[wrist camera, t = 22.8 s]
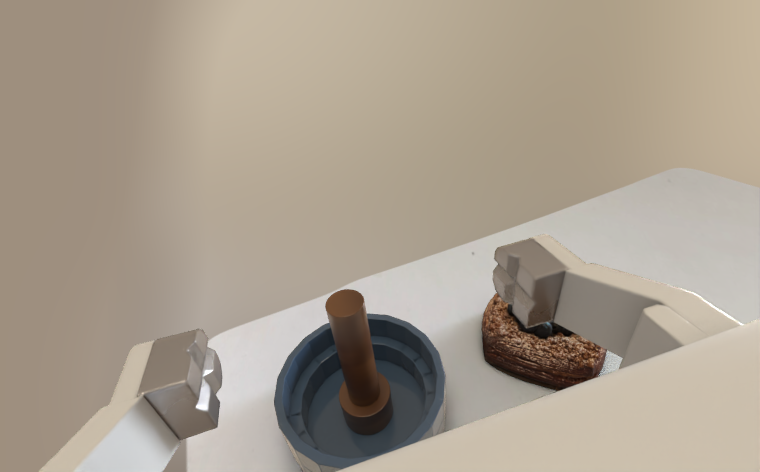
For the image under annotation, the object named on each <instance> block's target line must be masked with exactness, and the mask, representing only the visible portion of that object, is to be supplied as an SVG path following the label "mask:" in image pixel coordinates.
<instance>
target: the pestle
mask: <svg viewBox="0 0 760 472" xmlns="http://www.w3.org/2000/svg"><path fill="white" fill-rule="evenodd" d="M325 307H326V311H327V315H328V319H329V323H330V326H331V330H332V334H333V338H334V341H335V345H336V349H337V353H338V357H339V360H340V364H341V368H342V372H343V375H344V379H345V381H344V382H343V384H342V385H341V388H340V391H339V401H340V405H341V408H342V411H343V415H344V418H345V421H346V424H347V425H348V427H349V428H350V429H351V430H352V431H354V432H356V433H358V434H361V435H372V434H376V433H378V432H380V431H381V430H383V429H384V428H385V427H386V426H387V425H388V423H389V422H390V420H391V418H392V414H393V404H392V397H391V391H390V385H389V383H388V381H387V379H386V378H385V377H384V376H383V375H382V374H381V373H379V372H377V370H376V364H375V358H374V353H373V347H372V342H371V336H370V330H369V325H368V319H367V314H366V308H365V302H364V298H363V296H362V295H361V293H359V292H358V291H355V290H350V289H347V290H341V291H338V292H336V293H334V294H332V295H331V296H330V297H329V298H328V300H327V302H326V306H325Z"/></svg>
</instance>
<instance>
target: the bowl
mask: <svg viewBox="0 0 760 472" xmlns="http://www.w3.org/2000/svg"><path fill="white" fill-rule="evenodd" d="M367 319H368V325H369V330H370V336H371V342H372V347H373V353H374V358H375V364H376V370H377V372H379V373H381V374H382V375H383V376H384V377H385V378H386V379H387V381H388V383H389V385H390V391H391V397H392V404H393V414H392V418H391V420H390V422H389V423H388V425H387V426H386V427H385V428H384V429H383V430H381V431H380V432H378V433H376V434H372V435H361V434H358V433H356V432H354V431H352V430H351V429H350V428H349V427H348V425H347V424H346V421H345V418H344V415H343V411H342V408H341V405H340V401H339V391H340V388H341V385H342V384H343V382H344V381H345V379H344V375H343V372H342V368H341V364H340V360H339V357H338V353H337V349H336V345H335V341H334V338H333V334H332V330H331V326H330V323H327V324H325V325H323V326H321V327H320V328H318V329H317V330H315V331H314V332H312V333H311V334H310V335H308V336H307V337H305V338H304V339H303V340H302V341H301V342H300V344H299V345H298V346H297V347H296V348H295V349H294V350H293V351H292V353H291V354H290V355H289V357H288V358H287V360H286V362H285V364H284V366H283V368H282V370H281V372H280V374H279V376H278V379H277V385H276V391H275V398H274V406H275V410H276V415H277V420H278V425H279V428H280V430H281V432H282V434H283V436H284V438H285V440H286V442H287V444H288V446H289V448H290V450H291V452H292V454H293V456H294V458H295V460H296V461H297V463H298V464H299V466H300V467H301V469H302V470H303V472H336V471H339V470H342V469H344V468H347V467H350V466H353V465H355V464H358V463H361V462H364V461H366V460H369V459H372V458H375V457H378V456H380V455H383V454H386V453H389V452H391V451H394V450H397V449H400V448H402V447H405V446H408V445H411V444H414V443H416V442H419V441H422V440H425V439H427V438H430V437H433V436H436V435H438V434H441V433H444V427H445V412H446V385H445V372H444V368H443V365H442V362H441V358H440V355H439V353H438V351H437V350H436V348H435V347H434V345H433V344H432V343H431V341H430V340H429V339H428V337H427V336H426V335H425V334H424V333H422V332H421V331H420V330H418V329H417V328H416V327H414V326H413V325H411V324H410V323H408V322H406V321H403V320H400V319H397V318H394V317H392V316H388V315H379V314H367Z"/></svg>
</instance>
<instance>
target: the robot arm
mask: <svg viewBox="0 0 760 472" xmlns="http://www.w3.org/2000/svg"><path fill="white" fill-rule="evenodd" d="M494 259H495V260H496V261H497V263H498V265H497V266H496V268H495V269H494V271H493V283H494V286H495V290H496V291H497V293H498V295H499V296H500V298H501V299H502V300H503V301H504V302H506V303H509V304H511V305H513V310H512V312H513V313H514V314H515V316H516V317H517V318H518V319H519V320H520V322H521V323H522V324H523V325H524V326H525V327H526V328H530V327H533V326H537V325H540V324H544V323H547V322H551V321H554V322H555V323H556V324H558V325H560V326H562V327H564V328H566V329H568V330H570V331H572V332H574V333H576V334H578V335H580V336H581V337H583V338H585V339H587V340H589V341H591V342H593V343H595V344H597V345H599V346H601V347H603V348H605V349H606V350H608V351H610V352H612V353H614V354H616V355H618V356H620V357H622V358H623V360H622V362H621V364H620V367H619V369H618V370H616V371H613V372H610V373H608V374H605V375H602V376H599V377H596V378H594V379H591V380H588V381H585V382H583V383H580V384H577V385H574V386H571V387H569V388H566V389H563V390H560V391H558V392H555V393H552V394H549V395H547V396H544V397H541V398H538V399H535V400H533V401H530V402H527V403H524V404H522V405H519V406H516V407H513V408H510V409H508V410H505V411H502V412H499V413H497V414H494V415H491V416H488V417H486V418H483V419H480V420H477V421H474V422H472V423H469V424H466V425H463V426H461V427H458V428H455V429H452V430H449V431H447V432H444V433H441V434H438V435H436V436H433V437H430V438H427V439H425V440H422V441H419V442H416V443H414V444H411V445H408V446H405V447H402V448H400V449H397V450H394V451H391V452H389V453H386V454H383V455H380V456H378V457H375V458H372V459H369V460H366V461H364V462H361V463H358V464H355V465H353V466H350V467H347V468H344V469H342V470H339V471H336V472H760V319H757V320H755V321H752V322H749V323H746V324H741V323H740V322H738V321H737V320H735V319H733V318H732V317H730V316H729V315H727V314H726V313H724V312H723V311H721V310H720V309H718V308H717V307H715V306H714V305H712V304H711V303H709V302H707V301H706V300H704V299H703V298H701V297H700V296H698V295H697V294H695V293H694V292H692V291H688V290H685V289H681V288H678V287H674V286H671V285H667V284H664V283H660V282H657V281H653V280H650V279H646V278H643V277H639V276H636V275H632V274H629V273H625V272H622V271H618V270H615V269H611V268H608V267H604V266H601V265H597V264H594V263H590V264H586V263H585V262H584V261H582V260H581V259H580V258H578V257H577V256H576V255H574V254H573V253H572V252H571V251H569V250H568V249H567V248H565V247H564V246H563V245H561V244H560V243H559V242H558V241H556V240H555V239H554V238H552V237H551V236H550V235H547V234H542V235H539V236H535V237H532V238H529V239H526V240H522V241H519V242H515V243H512V244H508V245H505V246H501V247H497V249H496V251H495V257H494ZM207 344H208V337H207V336H206V334H205V332H204V331H203V330H201V329H196V330H192V331H188V332H184V333H180V334H177V335H172V336H168V337H164V338H160V339H157V340H154V341H150V342H146V343H142V344H138V345H135V346H134V347H133V348H132V349H131V350H130V351H129V354H128V357H127V359H126V362H125V365H124V367H123V370H122V372H121V375H120V378H119V380H118V383H117V386H116V388H115V391H114V393H113V396H112V399H111V401H110V404H109V406H106V407H103V408H101V409H100V410H99V411H98V412H97V413H96V414H95V415H94V416H93V417H92V418H91V419H90V420H89V421H88V422H87V423H86V424H85V425H84V426H83V427H82V428H81V429H80V430H79V431H78V432H77V433H76V434H75V435H74V436H73V437H72V438H71V439H70V440H69V441H68V442H67V443H66V444H65V445H64V446H63V447H62V448H61V449H60V450H59V451H58V452H57V453H56V454H55V455H54V456H53V457H52V458H51V460H49V461H48V462H47V463H46V464H45V465H44V466H43V468H42V469H40V470H39V471H38V472H163V470H164V469H165V467H166V465H167V464H168V462H169V460H170V459H171V457H172V456H173V454H174V452H175V451H176V449H177V448H178V446H179V444H180V440H183V439H186V438H188V437H191V436H194V435H197V434H200V433H203V432H206V431H209V430H211V429H214V428H217V427H218V417H219V407H220V402H219V400H218V398H217V397H216V393H217V392H218V391H219V389H220V388H221V386H222V370H221V364H220V361H219V357H218V355H217V353H216V352H215V350H213V349H211V348H208V347H207Z"/></svg>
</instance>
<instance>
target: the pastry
mask: <svg viewBox="0 0 760 472" xmlns="http://www.w3.org/2000/svg"><path fill="white" fill-rule="evenodd" d="M512 310H513V305H511V304H509V303H506V302H504V301H503V300H502V299H501V298H500V296H499V295H498V293H496V294H495V295H494V297H493V298H492V299H491V301H490V302H489V303H488V305H487V307H486V309H485V312H484V316H483V321H482V334H483V337H482V339H483V350H484V356H485V360H486V362H488V363H489V364H490V365H492V366H493V367H495V368H497V369H498V370H500V371H502V372H504V373H506V374H508V375H511V376H513V377H516V378H518V379H521V380H524V381H526V382H530V383H533V384H536V385H540V386H544V387H548V388H551V389H555V390H557V391H560V390H563V389H566V388H569V387H571V386H574V385H577V384H580V383H583V382H585V381H588V380H591V379H594V378H596V377H598V375H599V373H600V371H601V370H602V367H603V364H604V361H605V356H606V352H607V350H606V349H605V348H603V347H601V346H599V345H597V344H595V343H593V342H591V341H589V340H587V339H585V338H583V337H581V336H580V335H578V334H576V333H574V332H572V331H570V330H568V329H566V328H564V327H562V326H560V325H558V324H556V323H555V322H554V321H551V322H547V323H544V324H540V325H537V326H533V327H530V328H526V327H525V326H524V325H523V324H522V323H521V322H520V320H519V319H518V318H517V317H516V316H515V314H514V313H513V312H512Z"/></svg>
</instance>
